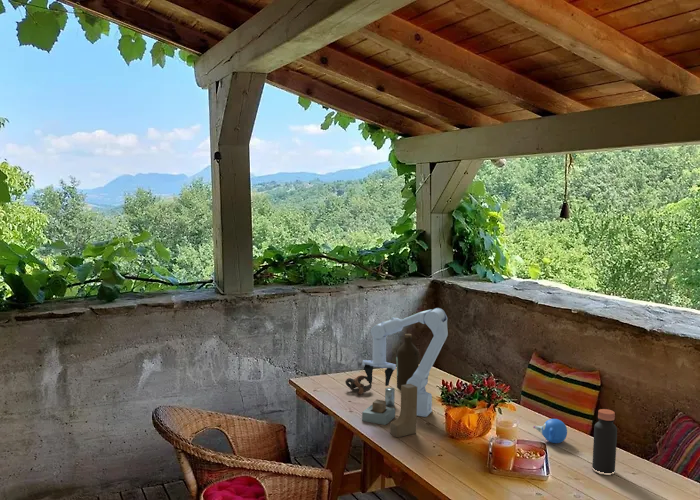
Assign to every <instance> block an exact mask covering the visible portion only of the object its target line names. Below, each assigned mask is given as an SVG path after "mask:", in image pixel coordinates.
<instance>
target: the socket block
mask: <svg viewBox="0 0 700 500" xmlns="http://www.w3.org/2000/svg"><path fill="white" fill-rule="evenodd" d="M372 410H373V403H372V404H371V405H370V406H368V407H367V408H366V409H364V410H363V411H362V412H361V415H362V416H361V421H362V422H367V423H372V424H379V425H382V426H383V425H384V426H387V425H388V424H389V423H391V422H392V420H394V418H395V417H396V408H394V407H387V406H386V411H385V412H384V413H377V412H372Z"/></svg>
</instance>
